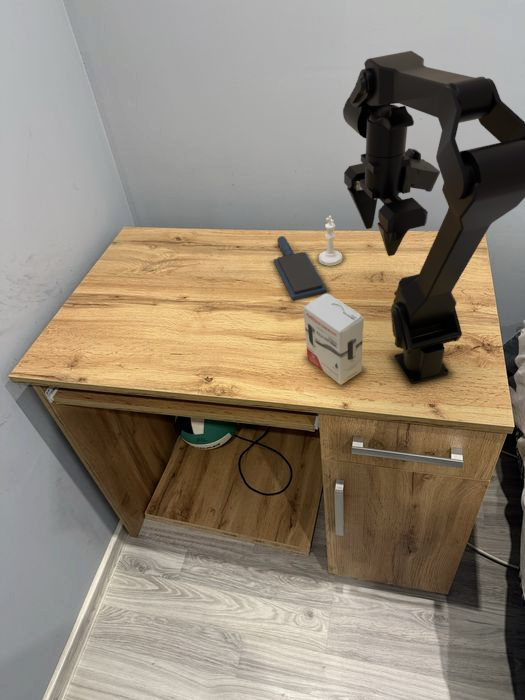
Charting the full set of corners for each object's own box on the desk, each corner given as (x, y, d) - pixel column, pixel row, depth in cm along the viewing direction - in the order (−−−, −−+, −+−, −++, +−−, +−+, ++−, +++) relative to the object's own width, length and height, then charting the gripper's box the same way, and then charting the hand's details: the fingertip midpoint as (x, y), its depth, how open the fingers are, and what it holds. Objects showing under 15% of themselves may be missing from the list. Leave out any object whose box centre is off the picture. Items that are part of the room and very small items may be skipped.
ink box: (305, 359, 85) (301, 304, 76) (327, 345, 86) (326, 290, 78) (340, 386, 79) (340, 331, 71) (362, 371, 81) (365, 315, 73)
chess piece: (329, 250, 108) (328, 207, 101) (347, 257, 105) (347, 214, 98) (314, 260, 105) (312, 217, 98) (332, 268, 103) (331, 225, 96)
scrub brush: (327, 292, 97) (326, 283, 96) (292, 300, 96) (291, 292, 95) (295, 239, 112) (295, 231, 111) (265, 245, 111) (265, 238, 110)
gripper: (469, 163, 68) (451, 259, 79) (407, 119, 81) (399, 206, 92) (393, 180, 67) (385, 275, 78) (343, 132, 80) (342, 219, 91)
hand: (379, 241), depth 85 cm, fingers open, 9 cm apart
